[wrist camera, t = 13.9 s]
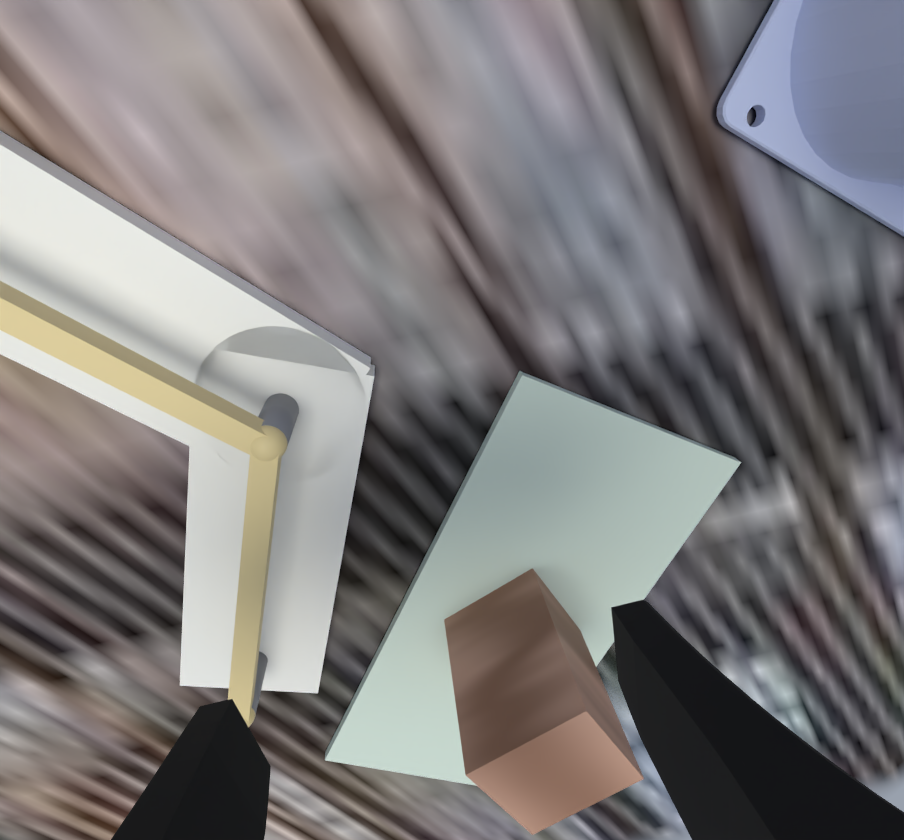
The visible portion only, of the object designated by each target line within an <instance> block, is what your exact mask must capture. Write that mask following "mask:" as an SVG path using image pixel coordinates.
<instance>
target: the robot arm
mask: <svg viewBox="0 0 904 840" xmlns="http://www.w3.org/2000/svg"><path fill="white" fill-rule="evenodd" d="M752 107H753V108H754V109H755V110H756V119H755V122H754V123H753V124H752V125H751V126H749V125H748V123H747V118H746V117H747V114H748V111H749V110H750V109H751V108H752ZM717 118H718V121H719V123H720V124H721V125H722V126H723V127H724V128H725V129H727V130H729V131H730V132H732V133H734V134H735V135H737V136H739V137H740V138H742V139H744V140H745V141H747V142H749V143H750V144H752V145H753V146H755V147H757V148H758V149H760V150H762V151H763V152H765V153H767V154H768V155H770V156H772V157H773V158H775V159H777V160H778V161H780V162H782V163H783V164H785V165H786V166H788V167H790V168H791V169H793V170H795V171H796V172H798V173H800V174H801V175H803V176H805V177H806V178H808V179H810V180H811V181H813V182H815V183H816V184H818V185H819V186H821V187H823V188H824V189H826V190H828V191H829V192H831V193H833V194H834V195H836V196H838V197H839V198H841V199H843V200H844V201H846V202H848V203H849V204H851V205H852V206H854V207H856V208H857V209H859V210H861V211H862V212H864V213H866V214H867V215H869V216H871V217H872V218H874V219H876V220H877V221H879V222H881V223H882V224H884V225H885V226H887V227H889V228H890V229H892V230H894V231H895V232H897V233H899V234H900V235H902V236H904V0H774V1H773V3H772V5H771V7H770V8H769V10H768V12H767V14H766V16H765V18H764V19H763V21H762V23H761V25H760V27H759V29H758V30H757V32H756V34H755V36H754V38H753V40H752V41H751V43H750V45H749V47H748V49H747V51H746V52H745V54H744V56H743V58H742V60H741V62H740V63H739V65H738V67H737V69H736V71H735V73H734V74H733V76H732V78H731V80H730V82H729V84H728V85H727V87H726V89H725V91H724V93H723V95H722V96H721V98H720V100H719V103H718V106H717ZM611 612H612V622H613V632H614V642H615V651H616V661H617V671H618V681H619V684H620V687H621V689H622V692H623V695H624V697H625V700H626V702H627V705H628V707H629V710H630V713H631V715H632V718H633V720H634V723H635V725H636V728H637V730H638V733H639V735H640V738H641V740H642V742H643V744H644V746H645V748H646V750H647V752H648V754H649V756H650V758H651V760H652V762H653V764H654V766H655V768H656V770H657V772H658V773H659V775H660V777H661V779H662V781H663V783H664V785H665V787H666V789H667V791H668V793H669V795H670V797H671V799H672V801H673V803H674V805H675V807H676V809H677V811H678V813H679V815H680V817H681V819H682V821H683V822H684V824H685V826H686V828H687V830H688V832H689V834H690V836H691V838H692V840H904V812H902V811H901V810H899V809H898V808H896V807H895V806H893V805H892V804H891V803H889V802H888V801H886V800H885V799H883V798H882V797H880V796H879V795H877V794H876V793H874V792H873V791H872V790H870V789H869V788H867V787H866V786H865V785H863V784H862V783H860V782H859V781H858V780H856V779H855V778H853V777H852V776H851V775H849V774H848V773H846V772H845V771H844V770H842V769H841V768H839V767H838V766H837V765H835V764H834V763H833V762H831V761H830V760H829V759H827V758H826V757H825V756H823V755H822V754H821V753H819V752H818V751H817V750H815V749H814V748H813V747H811V746H810V745H809V744H807V743H806V742H805V741H803V740H802V739H801V738H800V737H798V736H797V735H796V734H795V733H793V732H792V731H791V730H790V729H788V728H787V727H786V726H784V725H783V724H782V723H781V722H779V721H778V720H777V719H776V718H774V717H773V716H772V715H771V714H769V713H768V712H767V711H766V710H765V709H763V708H762V707H761V706H760V705H759V704H757V703H756V702H755V701H754V700H753V699H751V698H750V697H749V696H748V695H747V694H746V693H744V692H743V691H742V690H741V689H740V688H739V687H737V686H736V685H735V684H734V683H733V682H732V681H731V680H729V679H728V678H727V677H726V676H725V675H724V674H722V673H721V672H720V671H719V670H718V669H717V668H716V667H715V666H713V665H712V664H711V663H710V662H709V661H708V660H707V659H706V658H705V657H703V656H702V655H701V654H700V653H699V652H698V651H697V650H696V649H695V648H694V647H693V646H692V645H691V644H690V643H688V642H687V641H686V640H685V639H684V638H683V637H682V636H681V635H680V634H679V633H678V632H677V631H676V630H675V629H674V628H673V627H672V626H671V625H670V624H669V623H668V622H667V621H666V620H665V619H664V618H663V617H662V616H661V615H660V614H659V613H658V612H657V611H656V610H655V609H654V608H653V607H652V606H651V605H650V604H649V603H648V602H646V601H644V600H640V601H635V602H631V603H627V604H623V605H619V606H615V607H611ZM269 781H270V765H269V763H268V761H267V759H266V758H265V756H264V754H263V752H262V751H261V749H260V747H259V745H258V743H257V742H256V740H255V738H254V736H253V735H252V733H251V731H250V729H249V728H248V726H247V724H246V722H245V720H244V719H243V717H242V715H241V713H240V712H239V710H238V708H237V706H236V704H235V703H234V701H233V699H229V700H225V701H221V702H217V703H213V704H208V705H204V706H200V707H199V709H198V710H197V712H196V713H195V715H194V716H193V718H192V719H191V721H190V722H189V724H188V725H187V727H186V728H185V730H184V731H183V733H182V734H181V736H180V737H179V739H178V740H177V742H176V743H175V745H174V746H173V748H172V749H171V751H170V752H169V754H168V755H167V757H166V758H165V760H164V761H163V763H162V764H161V766H160V768H159V769H158V771H157V772H156V774H155V775H154V777H153V778H152V780H151V781H150V783H149V784H148V786H147V787H146V789H145V790H144V792H143V793H142V795H141V796H140V798H139V799H138V801H137V802H136V804H135V805H134V807H133V808H132V810H131V811H130V813H129V814H128V815H127V817H126V818H125V820H124V821H123V823H122V824H121V826H120V827H119V829H118V830H117V832H116V833H115V835H114V836H113V838H112V839H111V840H264V835H265V829H266V818H267V808H268V795H269Z"/></svg>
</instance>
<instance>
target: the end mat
mask: <svg viewBox="0 0 904 840" xmlns="http://www.w3.org/2000/svg"><path fill="white" fill-rule="evenodd" d="M740 463H741V462H740V461H739V460H737V459H736V458H735V457H733V456H730V455H728V454H725V453H723V452H720V451H718V450H715V449H713V448H710V447H708V446H705V445H703V444H700V443H698V442H695V441H693V440H690V439H688V438H685V437H683V436H680V435H678V434H675V433H673V432H671V431H668V430H666V429H663V428H661V427H658V426H656V425H653V424H651V423H648V422H646V421H643V420H641V419H638V418H636V417H633V416H631V415H628V414H626V413H623V412H621V411H618V410H616V409H613V408H611V407H608V406H606V405H603V404H601V403H598V402H596V401H593V400H591V399H588V398H586V397H583V396H581V395H578V394H576V393H573V392H571V391H568V390H566V389H563V388H561V387H558V386H556V385H553V384H551V383H549V382H546V381H544V380H541V379H539V378H536V377H534V376H531V375H529V374H526V373H524V372H521V371H519V373H518V375H517V377H516V379H515V380H514V382H513V384H512V386H511V388H510V390H509V392H508V394H507V396H506V398H505V400H504V402H503V404H502V406H501V408H500V410H499V412H498V414H497V416H496V418H495V420H494V422H493V424H492V426H491V428H490V430H489V432H488V434H487V435H486V437H485V439H484V441H483V443H482V445H481V447H480V449H479V451H478V453H477V455H476V457H475V459H474V461H473V463H472V465H471V467H470V469H469V471H468V473H467V475H466V477H465V479H464V481H463V483H462V485H461V487H460V489H459V491H458V492H457V494H456V496H455V498H454V500H453V502H452V504H451V506H450V508H449V510H448V512H447V514H446V516H445V518H444V520H443V522H442V524H441V526H440V528H439V530H438V532H437V534H436V536H435V538H434V540H433V542H432V544H431V546H430V547H429V549H428V551H427V553H426V555H425V557H424V559H423V561H422V563H421V565H420V567H419V569H418V571H417V573H416V575H415V577H414V579H413V581H412V583H411V585H410V587H409V589H408V591H407V593H406V595H405V597H404V599H403V601H402V603H401V604H400V606H399V608H398V610H397V612H396V614H395V616H394V618H393V620H392V622H391V624H390V626H389V628H388V630H387V632H386V634H385V636H384V638H383V640H382V642H381V644H380V646H379V648H378V650H377V652H376V654H375V656H374V658H373V659H372V661H371V663H370V665H369V667H368V669H367V671H366V673H365V675H364V677H363V679H362V681H361V683H360V685H359V687H358V689H357V691H356V693H355V695H354V697H353V699H352V701H351V703H350V705H349V707H348V709H347V711H346V713H345V714H344V716H343V718H342V720H341V722H340V724H339V726H338V728H337V730H336V732H335V734H334V736H333V738H332V740H331V742H330V744H329V746H328V748H327V750H326V754H325V760H327V761H333V762H339V763H345V764H351V765H357V766H363V767H369V768H375V769H381V770H387V771H393V772H399V773H405V774H411V775H417V776H423V777H429V778H434V779H440V780H446V781H452V782H458V783H464V784H470V785H476V784H475V783H474V782H473V781H471V780H470V779H469V778H468V777H467V776H466V775H465V768H464V761H463V754H462V746H461V739H460V732H459V724H458V717H457V710H456V703H455V695H454V688H453V681H452V674H451V666H450V659H449V652H448V645H447V637H446V630H445V623H444V619H446V618H448V617H450V616H451V615H453V614H455V613H456V612H458V611H460V610H462V609H463V608H465V607H467V606H468V605H470V604H472V603H474V602H475V601H477V600H479V599H480V598H482V597H484V596H486V595H487V594H489V593H491V592H492V591H494V590H496V589H498V588H499V587H501V586H503V585H504V584H506V583H508V582H510V581H511V580H513V579H515V578H516V577H518V576H520V575H522V574H523V573H525V572H527V571H528V570H530V569H532V568H533V569H534V571H535V572H536V573H537V574H538V576H539V577H540V578H541V580H542V581H543V582H544V584H545V585H546V586H547V587H548V589H549V590H550V591H551V593H552V594H553V595H554V597H555V598H556V599H557V600H558V602H559V603H560V604H561V606H562V607H563V608H564V610H565V611H566V612H567V613H568V615H569V616H570V617H571V619H572V620H573V621H574V623H575V624H576V625H577V626H578V628H579V629H580V631H581V633H582V635H583V638H584V640H585V642H586V645H587V647H588V649H589V652H590V654H591V656H592V659H593V661H594V663H595V666H597V665H598V663H599V662H600V660H601V659H602V658H603V656H604V655H605V653H606V652H607V651H608V649H609V648H610V646H611V645H612V644H613V642H614V632H613V622H612V612H611V607H615V606H619V605H623V604H627V603H631V602H635V601H640V600H644V599H645V597H646V596H647V594H648V593H649V592H650V590H651V589H652V587H653V586H654V585H655V583H656V582H657V580H658V579H659V577H660V576H661V575H662V573H663V572H664V570H665V569H666V568H667V566H668V565H669V563H670V562H671V561H672V559H673V558H674V556H675V555H676V554H677V552H678V551H679V549H680V548H681V547H682V545H683V544H684V542H685V541H686V539H687V538H688V537H689V535H690V534H691V532H692V531H693V530H694V528H695V527H696V525H697V524H698V523H699V521H700V520H701V518H702V517H703V516H704V514H705V513H706V511H707V510H708V509H709V507H710V506H711V504H712V503H713V501H714V500H715V499H716V497H717V496H718V494H719V493H720V492H721V490H722V489H723V487H724V486H725V485H726V483H727V482H728V480H729V479H730V478H731V476H732V475H733V473H734V472H735V471H736V469H737V468H738V466H739V465H740ZM476 786H477V785H476Z"/></svg>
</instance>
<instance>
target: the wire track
mask: <svg viewBox="0 0 904 840" xmlns="http://www.w3.org/2000/svg"><path fill="white" fill-rule="evenodd" d="M0 354H1V355H3V356H5V357H7V358H10V359H12V360H14V361H16V362H18V363H20V364H22V365H24V366H26V367H28V368H30V369H32V370H34V371H36V372H38V373H40V374H42V375H44V376H46V377H48V378H51V379H53V380H55V381H57V382H59V383H61V384H63V385H65V386H67V387H69V388H71V389H73V390H75V391H77V392H79V393H81V394H83V395H85V396H87V397H89V398H92V399H94V400H96V401H98V402H100V403H102V404H104V405H106V406H108V407H110V408H112V409H114V410H116V411H118V412H120V413H122V414H124V415H126V416H128V417H130V418H133V419H135V420H137V421H139V422H141V423H143V424H145V425H147V426H149V427H151V428H153V429H155V430H157V431H159V432H161V433H163V434H165V435H167V436H169V437H171V438H174V439H176V440H178V441H180V442H182V443H184V444H186V445H188V446H190V450H189V475H188V499H187V523H186V547H185V572H184V596H183V620H182V644H181V669H180V686H197V687H215V688H229V693H228V700H229V699H233V701H234V703H235V704H236V706H237V708H238V710H239V712H240V713H241V715H242V717H243V719H244V720H245V722H246V724H247V726H248V727H249V726H250V725H251V724H252V722H253V721H254V718H255V715H256V710H257V706H258V702H259V697H260V693H261V690H269V691H286V692H304V693H318V689H319V684H320V678H321V672H322V667H323V661H324V656H325V650H326V644H327V639H328V633H329V628H330V622H331V616H332V611H333V605H334V600H335V594H336V588H337V583H338V577H339V572H340V566H341V560H342V555H343V549H344V544H345V538H346V532H347V527H348V521H349V516H350V510H351V505H352V499H353V493H354V488H355V482H356V477H357V471H358V465H359V460H360V454H361V449H362V443H363V437H364V432H365V426H366V421H367V415H368V409H369V404H370V398H371V393H372V387H373V381H374V374H375V365H371V357H370V356H368V355H366V354H365V353H363V352H361V351H360V350H358V349H357V348H355V347H353V346H352V345H350V344H348V343H347V342H345V341H343V340H342V339H340V338H339V337H337V336H335V335H334V334H332V333H330V332H329V331H327V330H325V329H324V328H322V327H321V326H319V325H317V324H316V323H314V322H312V321H311V320H309V319H307V318H306V317H304V316H303V315H301V314H299V313H298V312H296V311H294V310H293V309H291V308H289V307H288V306H286V305H285V304H283V303H281V302H280V301H278V300H276V299H275V298H273V297H271V296H270V295H268V294H267V293H265V292H263V291H262V290H260V289H258V288H257V287H255V286H254V285H252V284H250V283H249V282H247V281H245V280H244V279H242V278H240V277H239V276H237V275H236V274H234V273H232V272H231V271H229V270H227V269H226V268H224V267H222V266H221V265H219V264H218V263H216V262H214V261H213V260H211V259H209V258H208V257H206V256H204V255H203V254H201V253H200V252H198V251H196V250H195V249H193V248H191V247H190V246H188V245H186V244H185V243H183V242H182V241H180V240H178V239H177V238H175V237H173V236H172V235H170V234H168V233H167V232H165V231H164V230H162V229H160V228H159V227H157V226H155V225H154V224H152V223H150V222H149V221H147V220H146V219H144V218H142V217H141V216H139V215H137V214H136V213H134V212H133V211H131V210H129V209H128V208H126V207H124V206H123V205H121V204H119V203H118V202H116V201H115V200H113V199H111V198H110V197H108V196H106V195H105V194H103V193H101V192H100V191H98V190H97V189H95V188H93V187H92V186H90V185H88V184H87V183H85V182H83V181H82V180H80V179H79V178H77V177H75V176H74V175H72V174H70V173H69V172H67V171H65V170H64V169H62V168H61V167H59V166H57V165H56V164H54V163H52V162H51V161H49V160H47V159H46V158H44V157H43V156H41V155H39V154H38V153H36V152H34V151H33V150H31V149H30V148H28V147H26V146H25V145H23V144H21V143H20V142H18V141H16V140H15V139H13V138H12V137H10V136H8V135H7V134H5V133H3V132H2V131H0Z"/></svg>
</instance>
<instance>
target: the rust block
mask: <svg viewBox="0 0 904 840" xmlns="http://www.w3.org/2000/svg"><path fill="white" fill-rule="evenodd" d="M444 623H445V630H446V637H447V645H448V652H449V659H450V666H451V674H452V681H453V688H454V695H455V703H456V710H457V717H458V724H459V732H460V739H461V746H462V754H463V761H464V768H465V775H466V776H467V777H468V778H469V779H470V780H471V781H473V782H474V783H475V784H476V785H477V786H478V787H479V788H480V789H482V790H483V791H484V792H485V793H486V794H487V795H488V796H489V797H491V798H492V799H493V800H494V801H495V802H496V803H497V804H498V805H500V806H501V807H502V808H503V809H504V810H505V811H506V812H507V813H509V814H510V815H511V816H512V817H513V818H514V819H515V820H516V821H518V822H519V823H520V824H521V825H522V826H523V827H524V828H526V829H527V830H528V831H529V832H530V833H531V834H532V835H533V834H535V833H537V832H539V831H541V830H543V829H545V828H547V827H549V826H551V825H553V824H555V823H557V822H559V821H561V820H563V819H565V818H567V817H569V816H571V815H573V814H575V813H577V812H579V811H581V810H583V809H585V808H587V807H589V806H591V805H593V804H595V803H597V802H599V801H601V800H603V799H605V798H607V797H609V796H611V795H613V794H615V793H617V792H619V791H621V790H622V789H624V788H626V787H628V786H630V785H632V784H634V783H636V782H638V781H640V780H642V779H644V778H643V775H642V773H641V771H640V768H639V766H638V764H637V761H636V759H635V757H634V754H633V752H632V750H631V747H630V745H629V743H628V740H627V738H626V736H625V733H624V731H623V729H622V726H621V724H620V722H619V719H618V717H617V715H616V712H615V710H614V708H613V705H612V703H611V701H610V698H609V696H608V694H607V691H606V689H605V687H604V684H603V682H602V680H601V677H600V675H599V673H598V670H597V668H596V666H595V663H594V661H593V659H592V656H591V654H590V652H589V649H588V647H587V645H586V642H585V640H584V638H583V635H582V633H581V631H580V629H579V628H578V626H577V625H576V624H575V623H574V621H573V620H572V619H571V617H570V616H569V615H568V613H567V612H566V611H565V610H564V608H563V607H562V606H561V604H560V603H559V602H558V600H557V599H556V598H555V597H554V595H553V594H552V593H551V591H550V590H549V589H548V587H547V586H546V585H545V584H544V582H543V581H542V580H541V578H540V577H539V576H538V574H537V573H536V572H535V571H534V569H533V568H532V569H530V570H528V571H527V572H525V573H523V574H522V575H520V576H518V577H516V578H515V579H513V580H511V581H510V582H508V583H506V584H504V585H503V586H501V587H499V588H498V589H496V590H494V591H492V592H491V593H489V594H487V595H486V596H484V597H482V598H480V599H479V600H477V601H475V602H474V603H472V604H470V605H468V606H467V607H465V608H463V609H462V610H460V611H458V612H456V613H455V614H453V615H451V616H450V617H448V618H446V619H444Z"/></svg>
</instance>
